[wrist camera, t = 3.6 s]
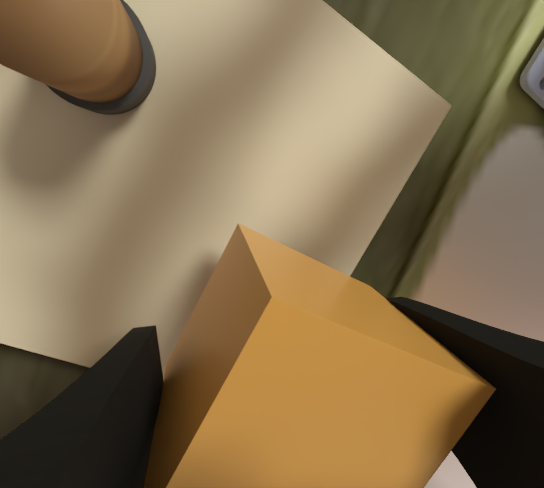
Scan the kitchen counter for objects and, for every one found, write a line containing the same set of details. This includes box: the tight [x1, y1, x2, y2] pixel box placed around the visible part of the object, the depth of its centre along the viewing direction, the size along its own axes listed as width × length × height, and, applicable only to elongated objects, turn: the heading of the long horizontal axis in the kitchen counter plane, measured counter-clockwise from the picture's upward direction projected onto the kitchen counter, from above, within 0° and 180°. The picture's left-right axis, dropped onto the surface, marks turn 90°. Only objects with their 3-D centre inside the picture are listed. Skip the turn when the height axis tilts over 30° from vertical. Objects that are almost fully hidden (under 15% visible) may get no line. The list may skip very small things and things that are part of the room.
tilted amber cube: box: [144, 223, 496, 488], centre depth 8 cm, size 5×5×5 cm
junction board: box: [0, 0, 452, 380], centre depth 9 cm, size 15×15×6 cm
